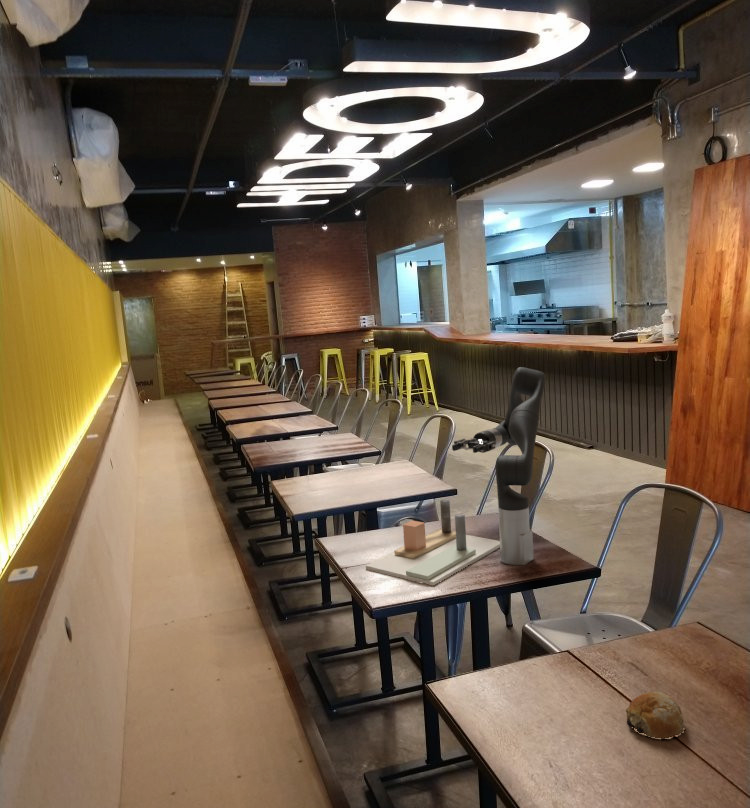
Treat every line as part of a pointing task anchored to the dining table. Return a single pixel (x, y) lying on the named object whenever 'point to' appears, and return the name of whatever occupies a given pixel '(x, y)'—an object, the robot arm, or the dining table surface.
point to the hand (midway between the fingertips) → (463, 448)
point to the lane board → (401, 564)
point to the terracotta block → (414, 535)
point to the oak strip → (433, 534)
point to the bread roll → (655, 715)
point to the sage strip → (445, 555)
